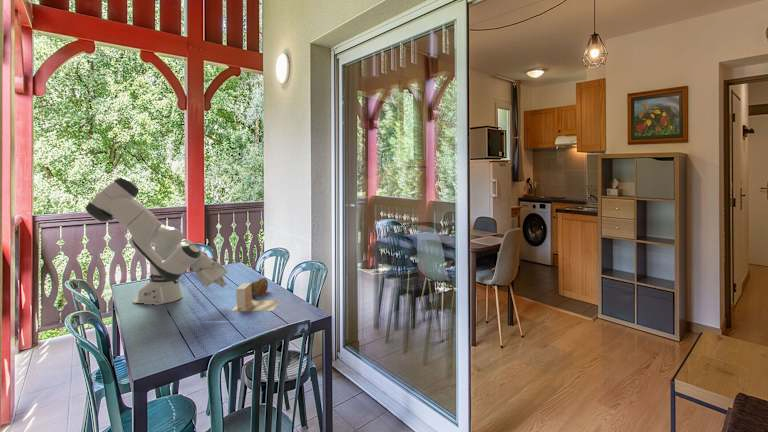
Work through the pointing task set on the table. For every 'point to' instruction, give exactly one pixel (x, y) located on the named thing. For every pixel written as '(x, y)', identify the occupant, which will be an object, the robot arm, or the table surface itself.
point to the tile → (244, 295)
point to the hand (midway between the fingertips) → (224, 285)
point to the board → (259, 306)
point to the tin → (259, 287)
